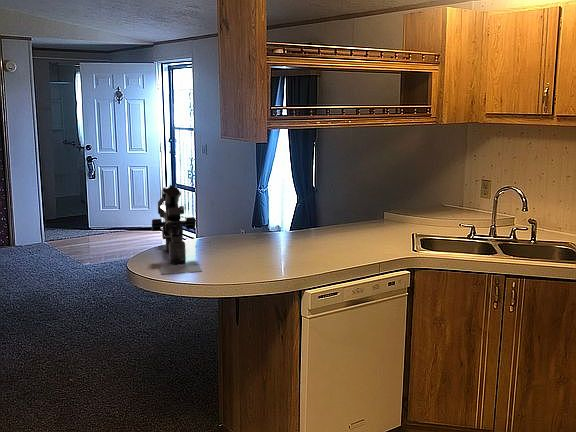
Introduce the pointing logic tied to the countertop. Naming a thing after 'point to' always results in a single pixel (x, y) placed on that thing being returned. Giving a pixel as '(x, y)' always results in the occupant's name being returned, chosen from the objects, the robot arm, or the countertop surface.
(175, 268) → the metal sheet
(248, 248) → the countertop surface
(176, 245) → the supplement bottle
